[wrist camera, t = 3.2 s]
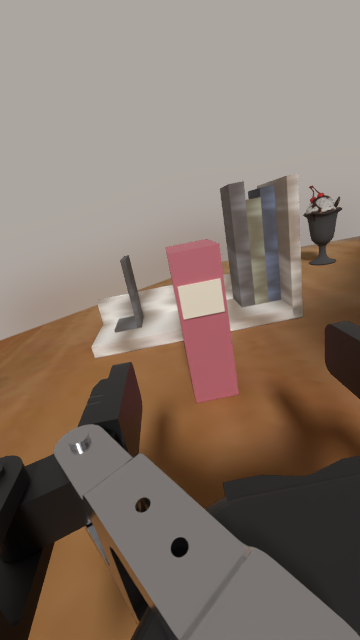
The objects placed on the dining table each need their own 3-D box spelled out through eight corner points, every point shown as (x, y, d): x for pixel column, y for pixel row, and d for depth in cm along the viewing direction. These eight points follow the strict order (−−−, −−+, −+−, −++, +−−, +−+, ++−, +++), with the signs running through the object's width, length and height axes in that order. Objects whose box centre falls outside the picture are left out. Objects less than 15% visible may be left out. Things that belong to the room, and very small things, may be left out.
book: (225, 364, 27) (206, 239, 23) (239, 395, 22) (219, 243, 18) (189, 371, 27) (165, 247, 23) (196, 404, 22) (167, 254, 18)
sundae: (297, 265, 60) (295, 189, 54) (318, 258, 62) (317, 184, 57) (326, 267, 54) (326, 182, 49) (347, 259, 57) (349, 178, 52)
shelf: (273, 297, 43) (265, 180, 37) (302, 316, 34) (297, 168, 29) (107, 330, 43) (74, 217, 37) (94, 358, 34) (49, 216, 29)
